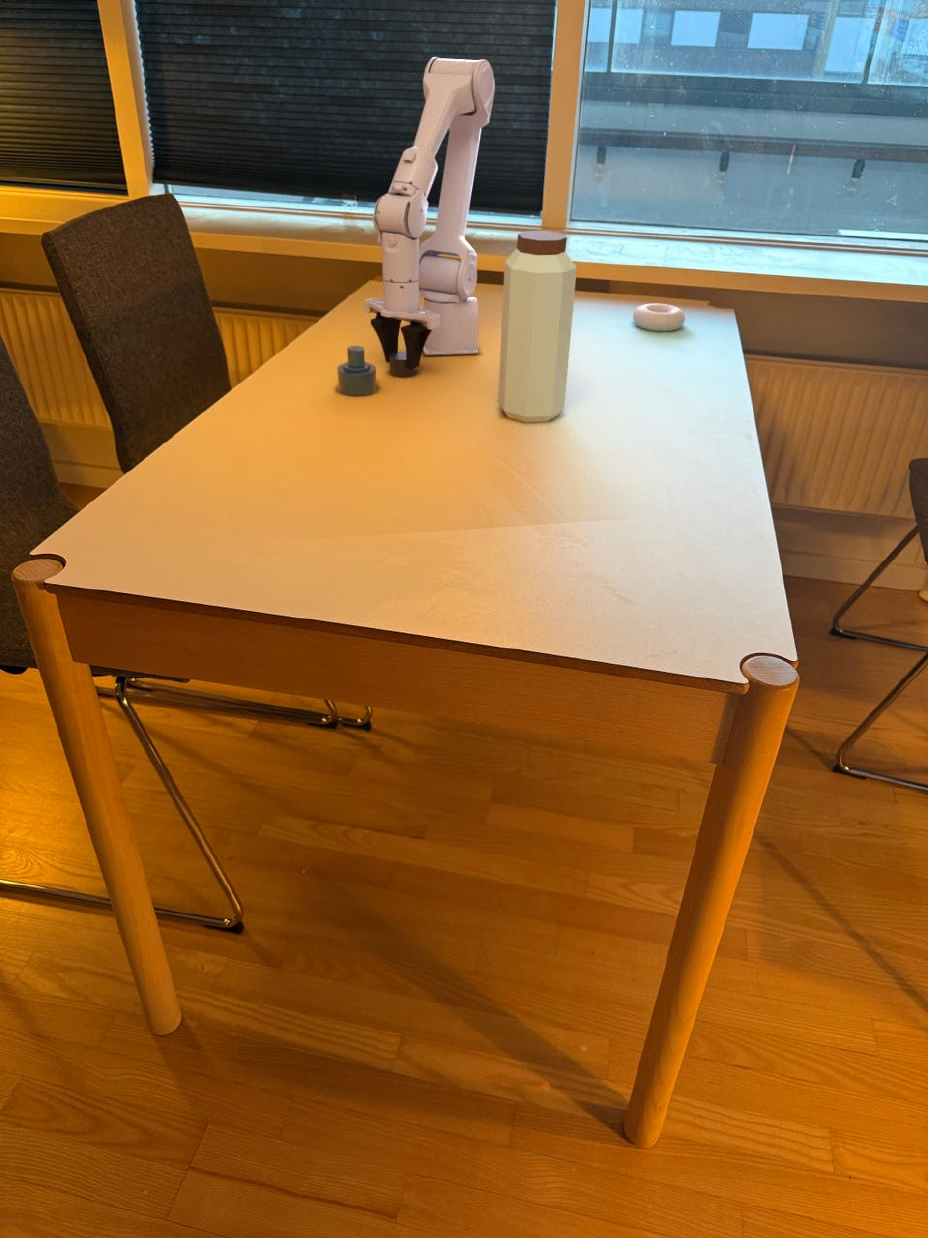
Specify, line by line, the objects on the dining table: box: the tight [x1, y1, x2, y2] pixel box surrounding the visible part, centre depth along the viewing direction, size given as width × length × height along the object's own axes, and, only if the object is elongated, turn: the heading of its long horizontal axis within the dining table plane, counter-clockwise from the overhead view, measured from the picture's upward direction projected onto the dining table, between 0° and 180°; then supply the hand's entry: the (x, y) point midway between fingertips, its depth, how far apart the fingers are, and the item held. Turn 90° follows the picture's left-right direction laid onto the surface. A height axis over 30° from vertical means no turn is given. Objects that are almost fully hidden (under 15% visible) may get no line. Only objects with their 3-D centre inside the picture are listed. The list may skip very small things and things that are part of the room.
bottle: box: [336, 345, 377, 397], centre depth 139 cm, size 6×6×6 cm
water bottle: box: [497, 230, 578, 424], centre depth 127 cm, size 10×10×25 cm
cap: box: [388, 351, 416, 378], centre depth 147 cm, size 4×4×3 cm
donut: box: [632, 303, 686, 332], centre depth 173 cm, size 10×4×10 cm
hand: (402, 364), depth 147 cm, fingers closed on cap, 4 cm apart
